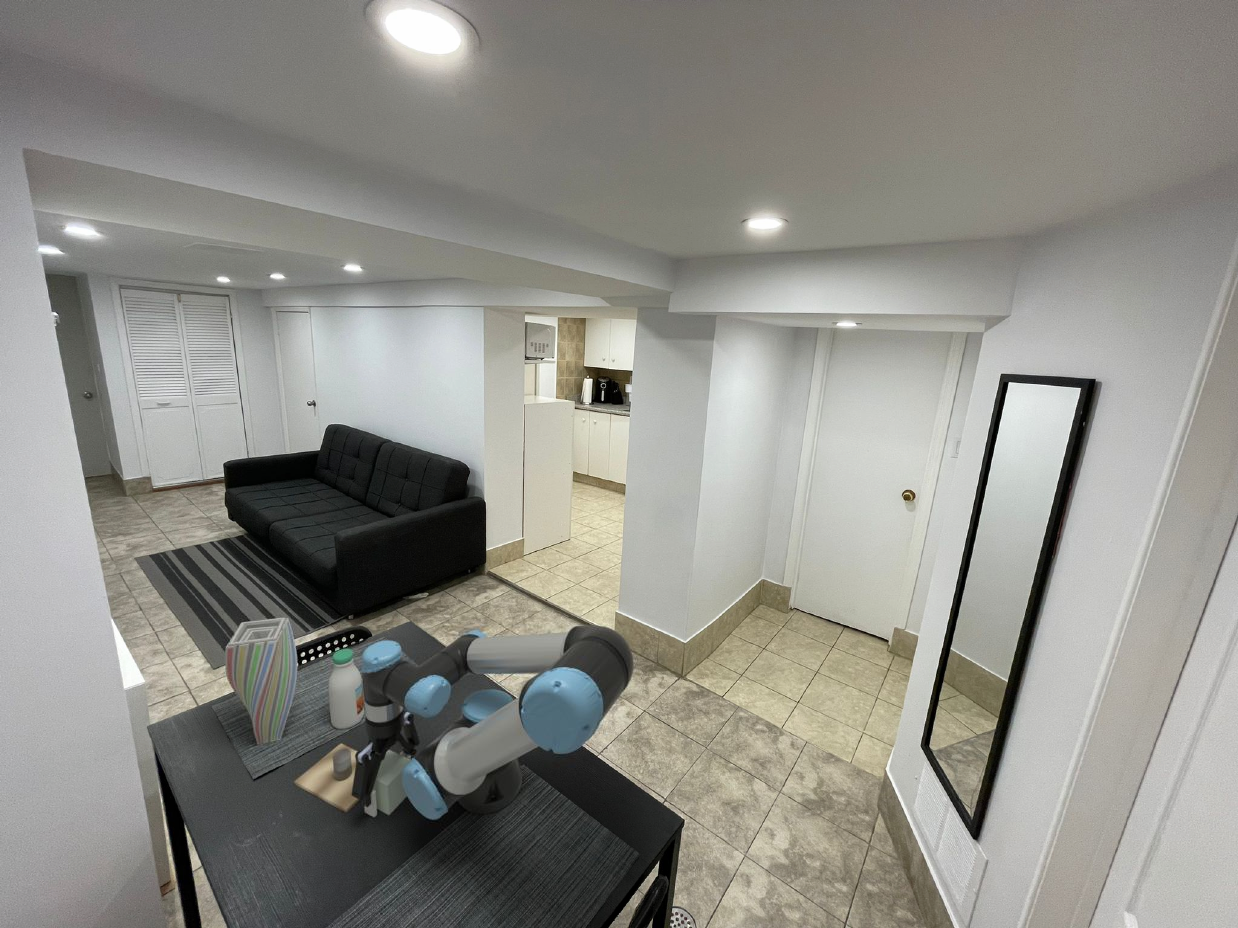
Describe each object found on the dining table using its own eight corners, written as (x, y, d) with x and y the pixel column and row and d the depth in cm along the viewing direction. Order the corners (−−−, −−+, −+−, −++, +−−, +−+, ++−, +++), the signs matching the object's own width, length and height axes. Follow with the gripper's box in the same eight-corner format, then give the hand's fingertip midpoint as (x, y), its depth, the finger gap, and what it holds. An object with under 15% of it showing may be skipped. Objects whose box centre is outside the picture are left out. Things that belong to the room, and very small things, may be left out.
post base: (390, 769, 118) (389, 748, 116) (346, 812, 107) (344, 789, 105) (341, 745, 123) (339, 724, 121) (294, 784, 112) (291, 761, 111)
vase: (297, 748, 121) (285, 642, 114) (229, 762, 116) (212, 651, 109) (308, 709, 133) (297, 611, 126) (247, 720, 128) (233, 618, 121)
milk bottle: (350, 732, 127) (345, 665, 122) (324, 726, 128) (317, 659, 123) (370, 711, 134) (366, 647, 129) (345, 705, 136) (340, 641, 131)
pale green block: (413, 789, 113) (412, 760, 111) (389, 814, 107) (387, 785, 105) (390, 777, 116) (388, 749, 114) (365, 802, 109) (362, 772, 107)
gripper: (410, 674, 117) (412, 752, 122) (325, 741, 97) (333, 830, 103) (435, 685, 114) (437, 763, 120) (353, 755, 94) (360, 845, 100)
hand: (389, 794), depth 111 cm, fingers open, 9 cm apart
